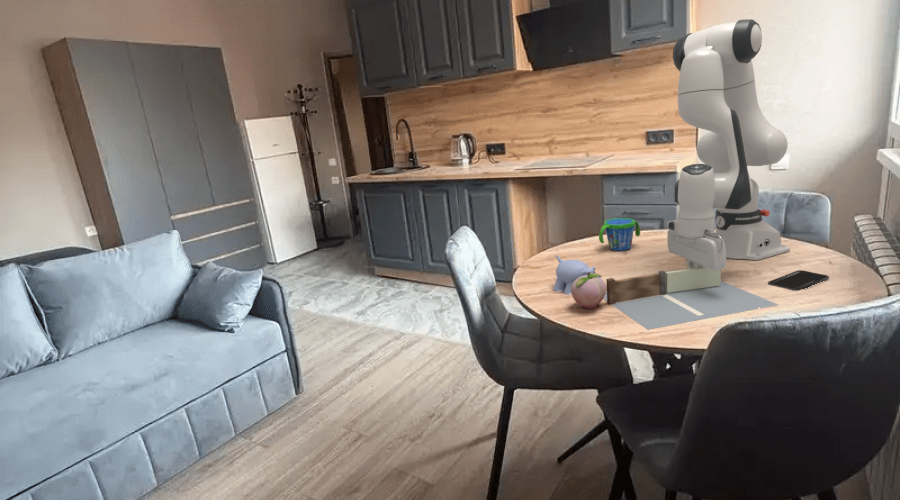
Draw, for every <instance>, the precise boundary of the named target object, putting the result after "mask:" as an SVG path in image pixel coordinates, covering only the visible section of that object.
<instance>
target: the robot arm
mask: <svg viewBox="0 0 900 500" xmlns="http://www.w3.org/2000/svg"><path fill="white" fill-rule="evenodd" d="M762 43H763V34H762V29H761V26H760V24H759V22H757V21H756V20H755V19H750V18H749V19H745V18H744V19H738V20H737V21H731V22H725V23H721V24H720V23H719V24H715V25H712V26H711V27H708V28H703V29H701V30H697V31H695V32H689V33H687V34H685V35H683V36H681V37H679V38H678V39H677V41H676V42H675V44H674V45H673V50H672V61H673V65H674V67H675V68H676V69H677V70H678V71H679V77H678V84H677V110H678V115H679V116H680V118H681V119H682V121H684V122H685V123H686V124H688V125H690V126H692V127H695V128H698V129H701V130H705V131H708V132H707V133H704V134H703V135H701V137H700V138H699V140H698V142H697V145H696V155H697V157H698V158H699V160H700V162H702V163H693V164H690V165H689V164H688V165H686V166H684V167H682V168H681V170H680V174H679V179H678V180H677V181H675V182H674V202H675V203H676V204H677V206H678V209H679V210H678V212H677V219H674V220H670V221H667V222H666V229H668V230H667V249H668V251H669V253H672V254H673V255H676V256H679V257H681V258H683V259H685V260H686V264H687V267H688V269H691V268H699V267H707V268H709V269H711V270H718V269H721V270H724V269H725V267H726V266H727V259H737V260H750V261H752V260H753V261H758V260H763V259H765V258H766V259H767V258H769V257H773V256H777V255H780V254H785V253H788V252H790V249H791V248H790V247H789V246H787V245H785V244H783V243H782V237H781V233H780V231H779V230H777V229H776V228H774V227H773V226H771V225H770V224H769V223H767V222H765V221H764V219H763V217H769V216H770V214H771V212H770V210H769V209H761V210H760V209H759V206H758V205H759V185H758V183H757V182H756V181H755V180H754V179H752V178H751V176H750V173H749V170H748V167H763V166H769V165H774V164H778V163H779V162H780V161H781V160H782V159H783V158H784V157H785V155H786V154H787V151H788V140H787V137H786V135H785V133H784V132H783V131H781V130H779V129H777V127H775V126H774V125H772V124H771V123H770V122H769V121H768V120H767V118H766V117H765V116H764V113H762V110H761V108H760V106H759V101H758V95H757V88H756V78H755V77H756V76H755V72H754V71H755V70H754V65H753V61H752V59H754V58H755V57H756V56H757V55H758V53H759V52H760V50H761V47H762ZM714 209H716V210H715V211H714ZM762 216H763V217H762ZM715 226H716V227H715Z"/></svg>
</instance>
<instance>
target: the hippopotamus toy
mask: <svg viewBox="0 0 900 500" xmlns="http://www.w3.org/2000/svg"><path fill="white" fill-rule="evenodd" d="M555 257H556V259H557V261H558V264H557V266H556V269H555V276H556V280H555V282H554V285H553V286H554V287H553V290H552V291H554V292H558V293H562V292H563V294H565V295H567V296H568V295H569V296H572V293H571V286H572V284H573V282H574V281H575V280H576V279H577V278H579V277H581V276H585V275H587V273H589V274H592V273H596V271H595V270H596V267H595V266H592V267H590V266H589V265H588V264H587V263H585V262H584V261H583V260H578V259H565V260H563V259H562V257H560V256H559V255H554V258H555ZM599 278H601V277H600V276H599ZM601 279H602V278H601Z"/></svg>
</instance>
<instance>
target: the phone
mask: <svg viewBox="0 0 900 500" xmlns="http://www.w3.org/2000/svg"><path fill="white" fill-rule="evenodd" d="M828 279H829V280H830V276H829V275H827V274H822V273H818V272H817V273H816V272H812V271H809V270H808V271H806V270H795V271H793V272H791V273H788V274H785V275H783V276H780V277H778V278H775V279H772V280H768V281H767V284H768V285H770V286H773V287H777V288H782V289H785V290H789V291H790V290H791V291H792V292H794V291H796V292H797V291H801V290H803V289H805V288H807V289H809V288H808V287H810V286H812V285H815V284H817V283H819V284H821V283H820V282H822V283H824V282H826V280H827V281H829V280H828ZM823 281H824V282H823ZM817 285H818V284H817ZM815 286H816V285H815ZM812 287H813V286H812ZM810 288H811V287H810ZM805 290H806V289H805Z"/></svg>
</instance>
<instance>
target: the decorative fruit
mask: <svg viewBox="0 0 900 500" xmlns="http://www.w3.org/2000/svg"><path fill="white" fill-rule="evenodd" d="M599 276H600V277H602V275H601V274H599V273H596V272H595V273H592V274H589V273H587V275H585V276H581V277H579V278H577V279H576V280H575V281H574V282H573V284H572V286H571V293H572V295H571V296H572V298H573V300H574V302H576V303H577V305H579V306H581V307H582V308H585V309H592V308H594V307H595V308H596V307H597V306H598V305H599V304H601V302H602V301H603V300H604V299H603V298H604V296H605V294H606V292H607V283H606V282H605V281H604V280H603V279H602V278H599Z"/></svg>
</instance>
